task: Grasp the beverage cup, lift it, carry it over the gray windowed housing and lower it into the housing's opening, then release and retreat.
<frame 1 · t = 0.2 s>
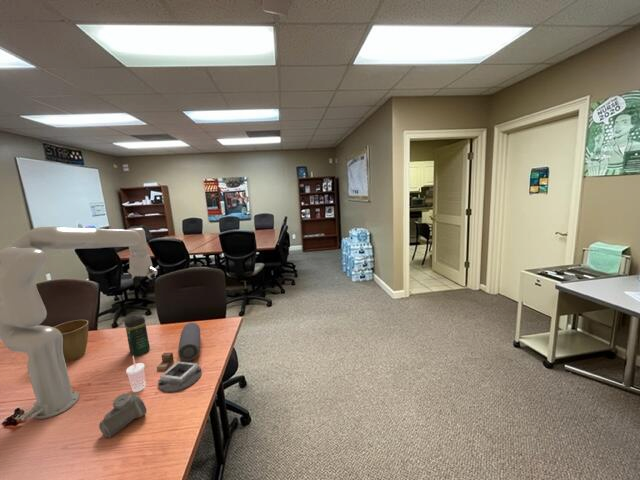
hand: (145, 285, 141), 31 cm above the table, fingers open, 9 cm apart
plant pot: (75, 357, 136), on the table
walnut bracket: (165, 366, 125), on the table
pipe fitting: (124, 425, 94), on the table
beverage cup: (139, 388, 112), on the table
gray windowed housing: (180, 378, 116), on the table
coffee jar: (140, 351, 138), on the table
bluetooth speaker: (191, 350, 136), on the table
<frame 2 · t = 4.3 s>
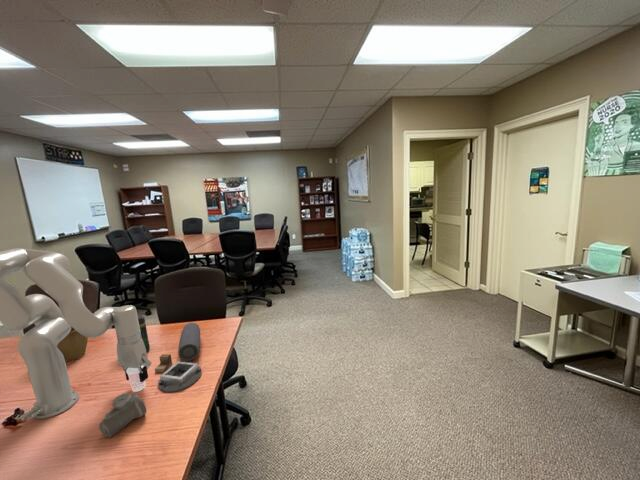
hand: (137, 378, 111), 4 cm above the table, fingers closed on beverage cup, 6 cm apart
walnut bracket: (164, 368, 123), on the table
beverage cup: (139, 388, 112), on the table, touching gripper
everything else where it was.
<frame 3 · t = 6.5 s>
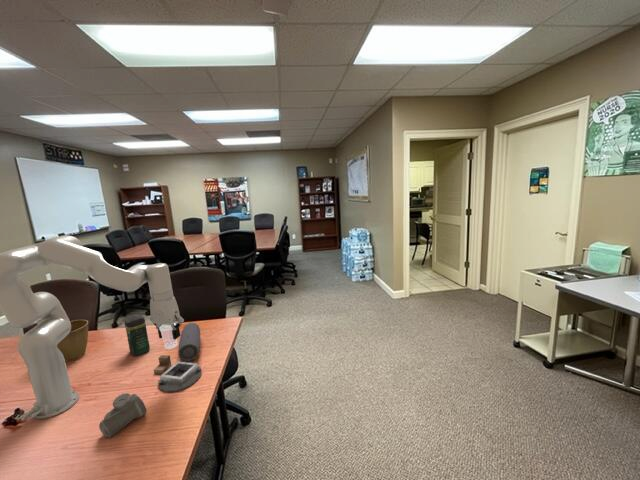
hand: (169, 336, 112), 19 cm above the table, fingers closed on beverage cup, 6 cm apart
beverage cup: (171, 346, 113), point 15 cm above the table, touching gripper
when the fingers open (7 cm above the table, at t = 9.7 s): beverage cup drops 2 cm, resting on gray windowed housing.
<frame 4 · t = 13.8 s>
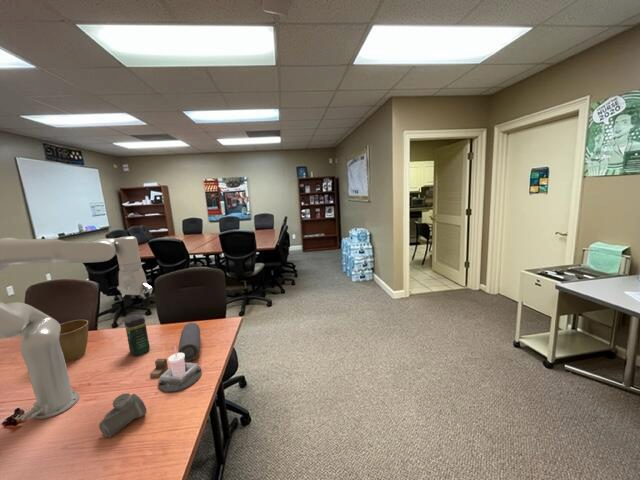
hand: (137, 305, 117), 30 cm above the table, fingers open, 9 cm apart
walnut bracket: (159, 373, 120), on the table
beverage cup: (179, 376, 116), point 1 cm above the table, touching gray windowed housing
everything else where it was.
at the end: beverage cup 0.3 cm off-centre on the gray windowed housing, point 0.8 cm above the gray windowed housing's base; beverage cup tilted 0°; the gripper is holding nothing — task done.
